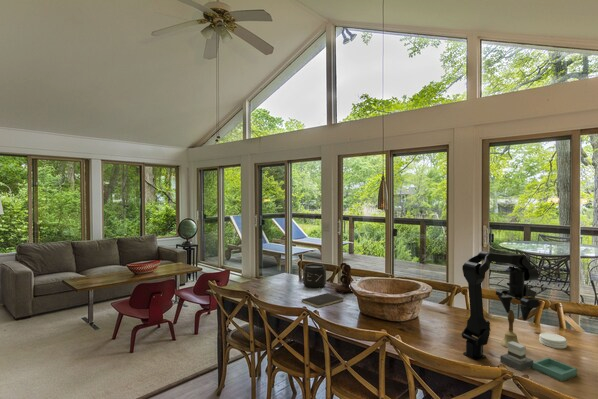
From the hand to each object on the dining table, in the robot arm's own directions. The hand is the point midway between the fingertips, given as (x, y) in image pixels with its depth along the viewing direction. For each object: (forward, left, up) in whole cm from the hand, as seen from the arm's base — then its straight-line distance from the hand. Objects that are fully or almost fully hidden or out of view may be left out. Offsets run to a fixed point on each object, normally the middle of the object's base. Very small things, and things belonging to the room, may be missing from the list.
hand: (516, 316), depth 149 cm
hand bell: (0, +2, -14) cm, 14 cm away
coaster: (+19, -5, -14) cm, 24 cm away
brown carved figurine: (-20, +111, -14) cm, 113 cm away
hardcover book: (-46, +96, -15) cm, 108 cm away
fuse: (-15, -10, -14) cm, 23 cm away
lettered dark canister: (-34, +132, -14) cm, 137 cm away
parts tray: (-8, -20, -14) cm, 25 cm away
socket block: (-15, -10, -14) cm, 23 cm away
